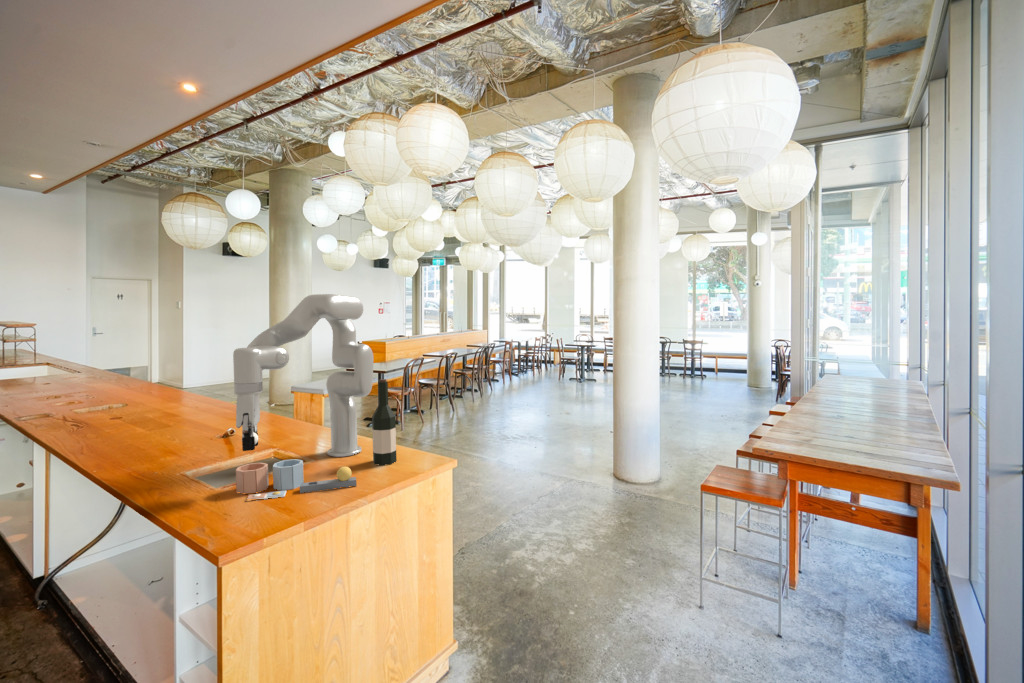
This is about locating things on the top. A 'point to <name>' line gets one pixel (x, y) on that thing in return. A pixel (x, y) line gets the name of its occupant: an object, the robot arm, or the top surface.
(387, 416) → the wine bottle
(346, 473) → the ball ochre
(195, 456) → the top surface
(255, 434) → the ball cream
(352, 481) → the holder
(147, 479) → the top surface
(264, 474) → the tube terracotta
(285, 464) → the tube bluegrey
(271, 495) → the card
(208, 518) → the top surface
